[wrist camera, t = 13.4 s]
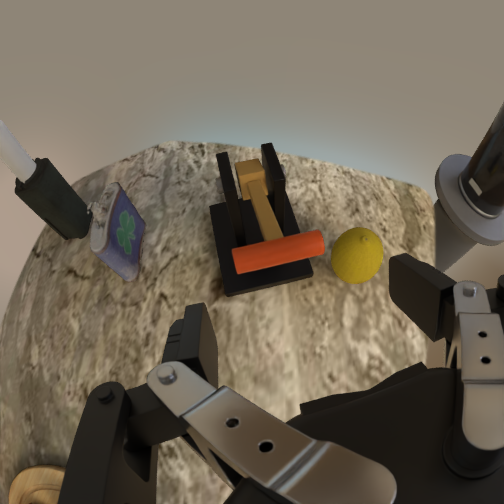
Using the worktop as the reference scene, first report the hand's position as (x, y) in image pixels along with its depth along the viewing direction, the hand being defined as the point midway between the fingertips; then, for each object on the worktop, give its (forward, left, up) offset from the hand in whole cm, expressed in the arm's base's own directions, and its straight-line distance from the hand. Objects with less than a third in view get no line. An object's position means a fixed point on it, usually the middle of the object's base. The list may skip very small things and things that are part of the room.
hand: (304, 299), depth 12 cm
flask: (+16, -17, -21) cm, 31 cm away
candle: (+26, -24, -21) cm, 41 cm away
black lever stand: (0, -14, -21) cm, 25 cm away
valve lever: (0, -9, -8) cm, 12 cm away
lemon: (-10, -7, -21) cm, 24 cm away
